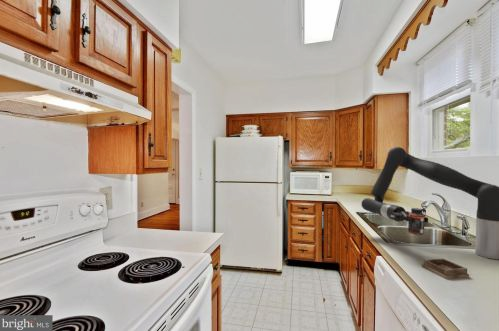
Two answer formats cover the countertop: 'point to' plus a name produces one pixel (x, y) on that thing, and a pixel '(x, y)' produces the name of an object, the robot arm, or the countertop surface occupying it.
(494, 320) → the countertop surface
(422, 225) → the supplement bottle
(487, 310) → the countertop surface
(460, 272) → the square wooden tray
